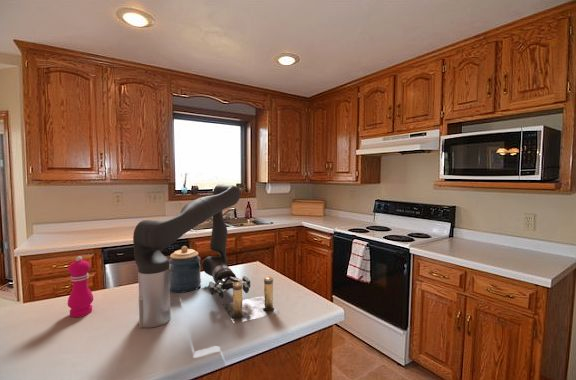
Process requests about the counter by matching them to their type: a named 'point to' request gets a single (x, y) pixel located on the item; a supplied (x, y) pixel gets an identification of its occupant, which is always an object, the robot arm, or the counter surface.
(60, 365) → the counter surface
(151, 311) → the robot arm
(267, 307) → the fixed brass leg
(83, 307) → the pepper mill
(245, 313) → the flange plate
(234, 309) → the loose brass leg
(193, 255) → the canister
